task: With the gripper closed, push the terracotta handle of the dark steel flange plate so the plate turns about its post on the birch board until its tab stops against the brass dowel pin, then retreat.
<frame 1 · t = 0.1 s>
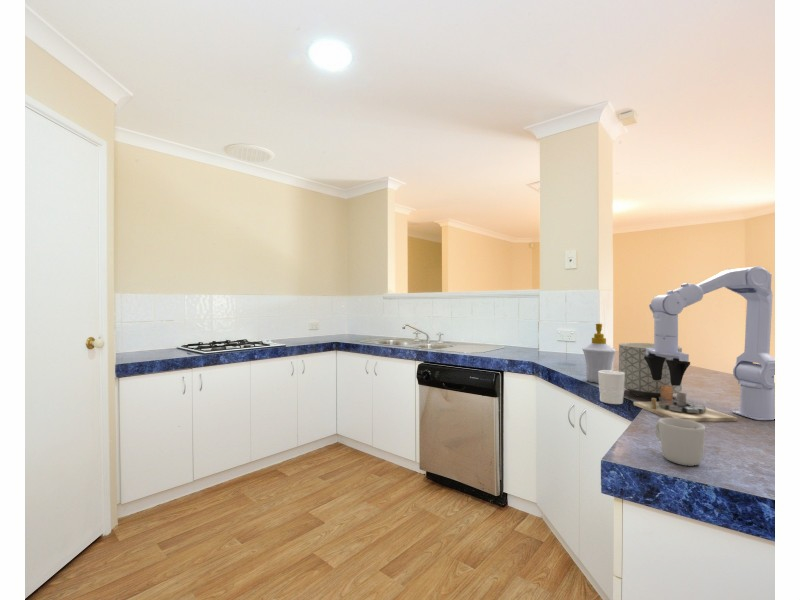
hand: (666, 382, 113), 10 cm above the counter, fingers open, 7 cm apart
post board: (681, 412, 118), on the counter
white cup: (611, 402, 130), on the counter
cup: (676, 459, 82), on the counter
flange: (677, 398, 120), point 4 cm above the counter, hinge at 0.0°
soap bottle: (598, 382, 164), on the counter
planter: (649, 396, 139), on the counter
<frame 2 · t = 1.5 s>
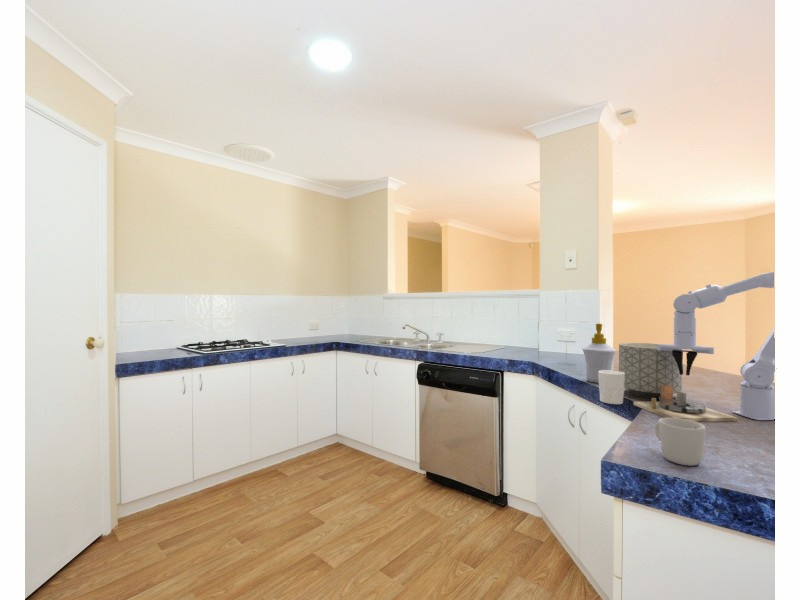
hand: (684, 374, 124), 10 cm above the counter, fingers closed
nothing on the counter moved.
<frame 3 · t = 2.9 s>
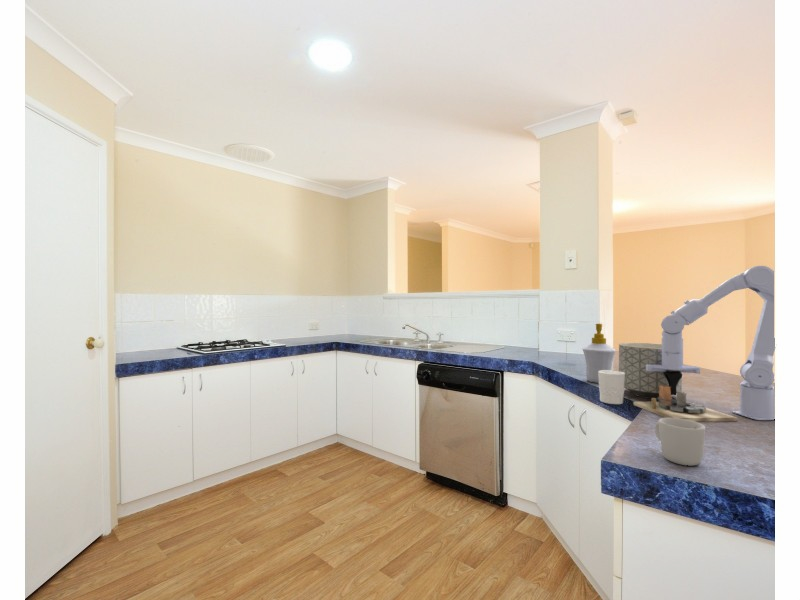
hand: (672, 394, 125), 4 cm above the counter, fingers closed, pressing on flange
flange: (677, 397, 120), point 4 cm above the counter, hinge at 3.2°, touching gripper
everything else where it was.
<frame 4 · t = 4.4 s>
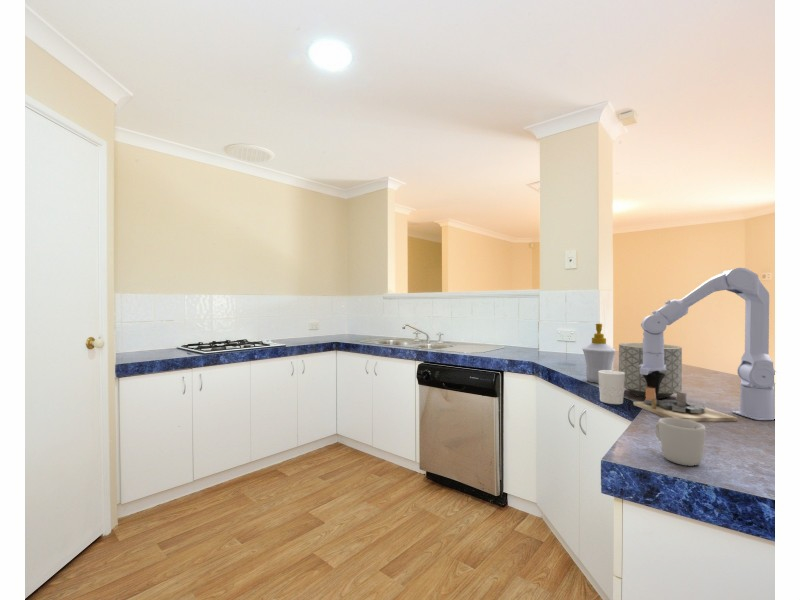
hand: (653, 394, 124), 4 cm above the counter, fingers closed, pressing on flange
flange: (673, 398, 119), point 4 cm above the counter, hinge at 53.8°, touching gripper
everything else where it was.
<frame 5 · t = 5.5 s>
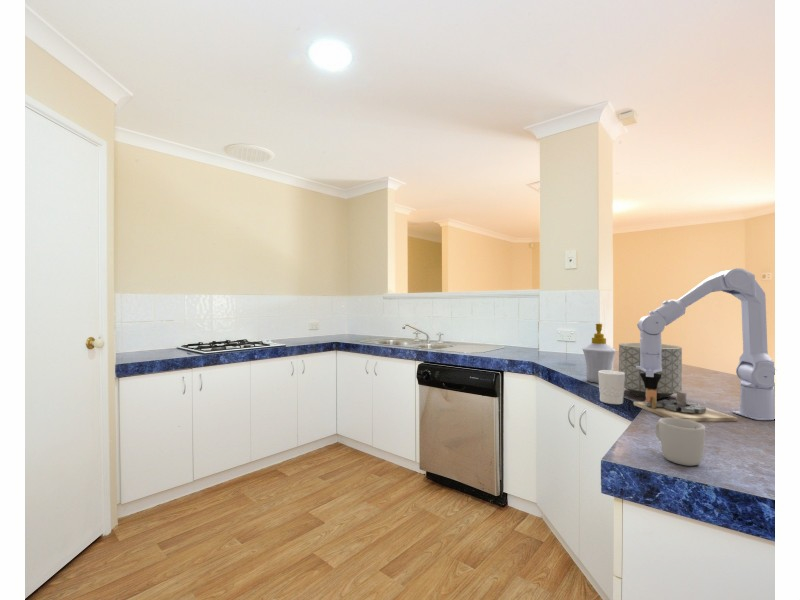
hand: (650, 396, 122), 4 cm above the counter, fingers closed
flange: (673, 398, 118), point 4 cm above the counter, hinge at 76.8°, touching gripper, post board
everything else where it was.
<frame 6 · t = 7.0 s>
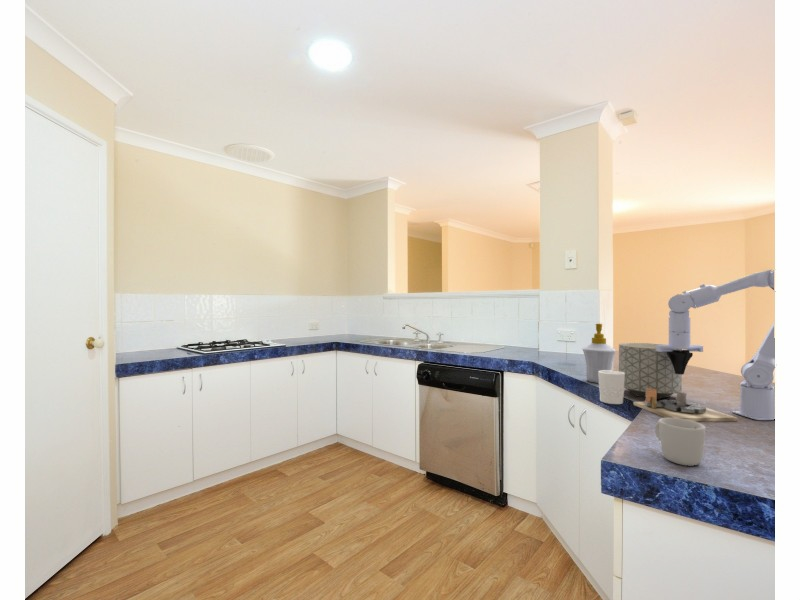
hand: (679, 373, 125), 10 cm above the counter, fingers closed
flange: (673, 398, 118), point 4 cm above the counter, hinge at 76.8°, touching post board
everything else where it was.
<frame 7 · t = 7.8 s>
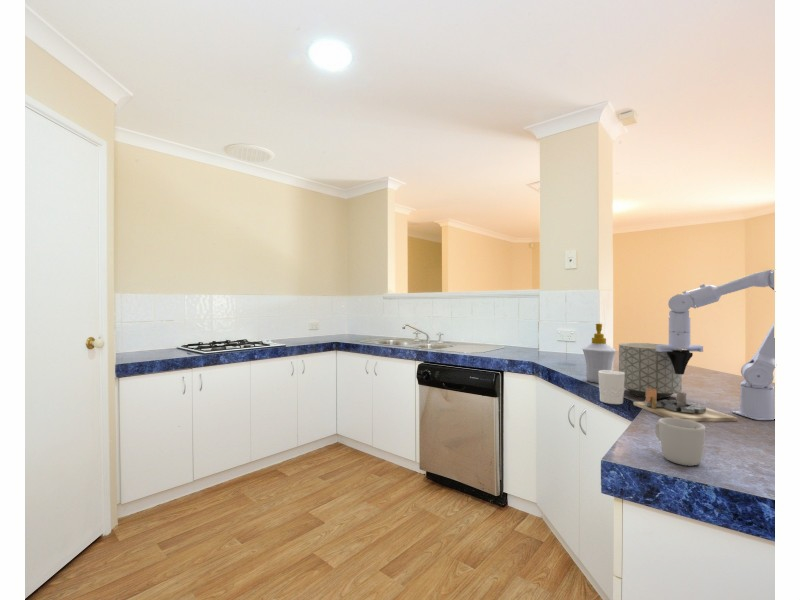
hand: (679, 373, 125), 10 cm above the counter, fingers closed
nothing on the counter moved.
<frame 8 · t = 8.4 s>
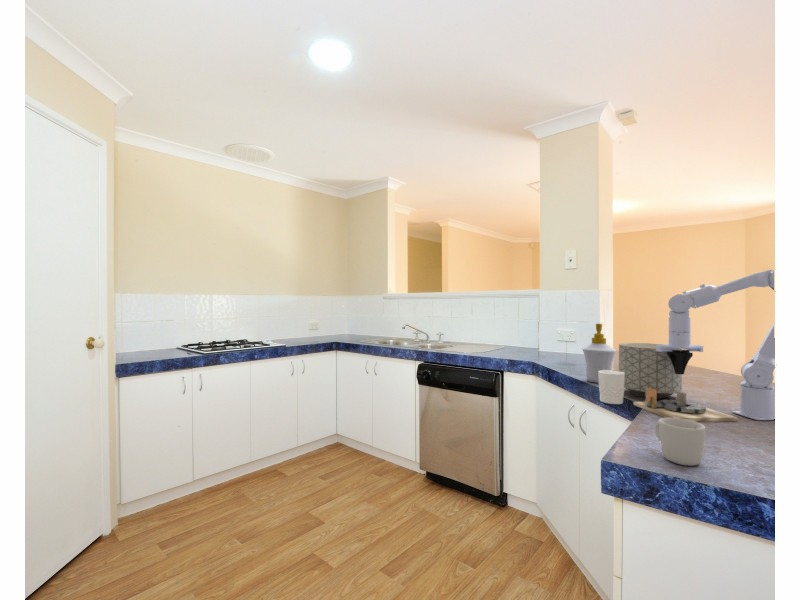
hand: (679, 373, 125), 10 cm above the counter, fingers closed
nothing on the counter moved.
at the end: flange at +77° (first picture: +0°); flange touching post board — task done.
